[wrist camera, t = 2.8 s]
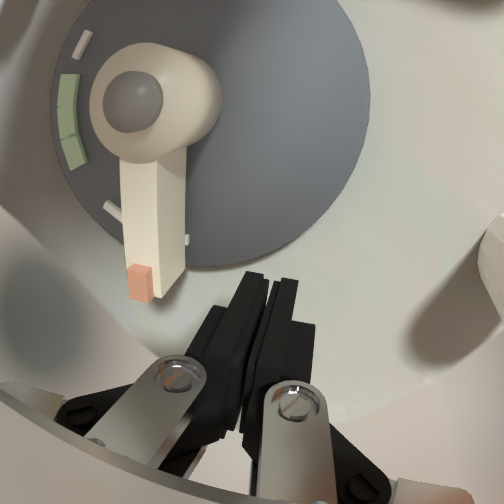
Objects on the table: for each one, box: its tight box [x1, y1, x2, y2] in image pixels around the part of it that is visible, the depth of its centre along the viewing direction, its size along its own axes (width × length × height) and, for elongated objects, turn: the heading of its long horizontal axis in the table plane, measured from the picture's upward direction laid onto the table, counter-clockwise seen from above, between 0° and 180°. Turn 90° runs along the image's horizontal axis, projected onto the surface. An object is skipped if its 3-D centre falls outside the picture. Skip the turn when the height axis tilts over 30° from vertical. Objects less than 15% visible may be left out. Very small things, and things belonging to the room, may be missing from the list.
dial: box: [50, 0, 370, 266], centre depth 14 cm, size 18×18×2 cm
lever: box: [89, 43, 222, 303], centre depth 13 cm, size 11×5×4 cm, turn 175°
